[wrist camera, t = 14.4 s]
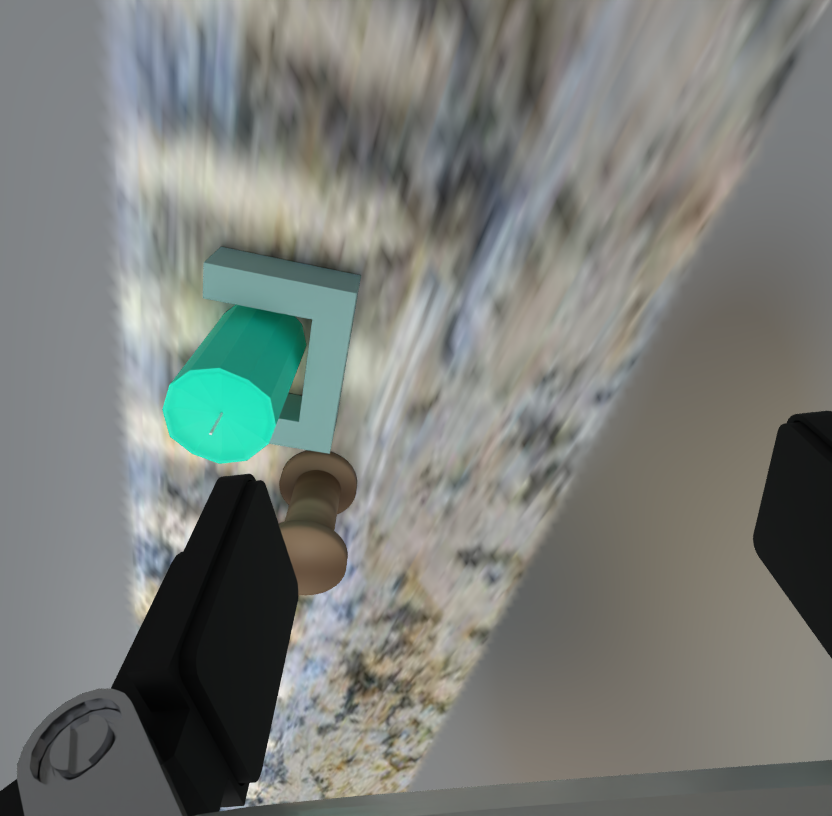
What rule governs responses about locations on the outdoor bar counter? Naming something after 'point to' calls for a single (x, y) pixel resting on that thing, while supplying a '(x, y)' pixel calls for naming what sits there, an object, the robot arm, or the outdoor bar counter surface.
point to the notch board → (329, 340)
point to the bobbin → (316, 517)
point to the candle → (235, 385)
